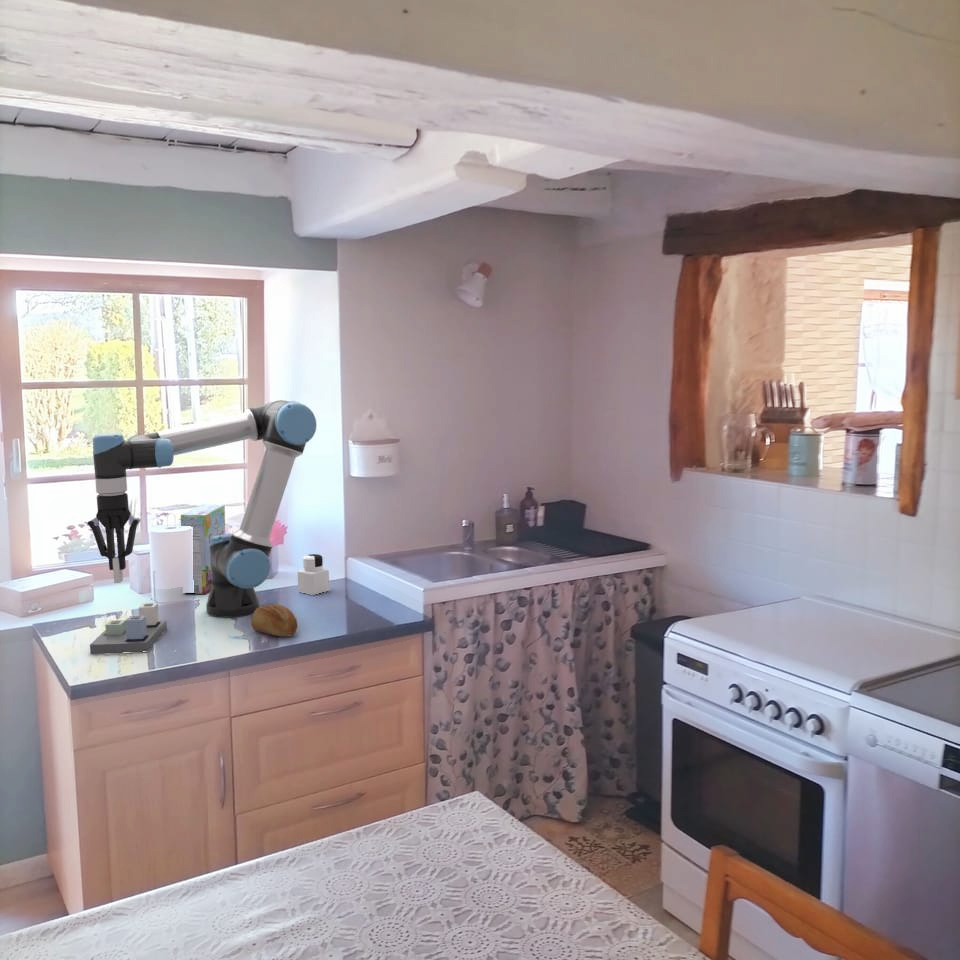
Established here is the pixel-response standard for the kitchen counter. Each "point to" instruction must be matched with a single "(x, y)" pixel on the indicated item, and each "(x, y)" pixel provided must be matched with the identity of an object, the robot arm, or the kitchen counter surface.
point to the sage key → (115, 627)
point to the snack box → (203, 541)
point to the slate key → (136, 627)
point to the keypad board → (127, 641)
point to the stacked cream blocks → (313, 575)
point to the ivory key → (149, 612)
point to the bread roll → (274, 620)
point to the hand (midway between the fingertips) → (118, 581)
